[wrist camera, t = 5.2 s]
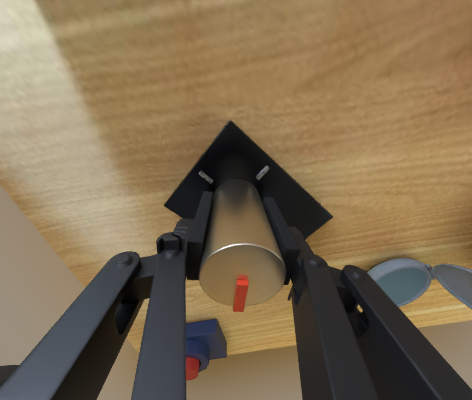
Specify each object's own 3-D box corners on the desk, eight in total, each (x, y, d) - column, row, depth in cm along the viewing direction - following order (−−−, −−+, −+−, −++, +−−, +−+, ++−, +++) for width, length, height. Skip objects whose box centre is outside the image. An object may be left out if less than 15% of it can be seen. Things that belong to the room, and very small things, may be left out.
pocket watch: (571, 365, 17) (413, 407, 21) (447, 274, 27) (354, 313, 31) (585, 318, 14) (390, 378, 17) (435, 233, 23) (331, 282, 27)
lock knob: (214, 176, 16) (198, 245, 7) (262, 180, 16) (299, 252, 8) (212, 218, 18) (196, 311, 9) (255, 221, 18) (278, 314, 10)
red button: (181, 367, 30) (178, 381, 28) (174, 357, 28) (170, 371, 26) (202, 364, 29) (200, 378, 28) (195, 353, 28) (193, 368, 26)
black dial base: (172, 193, 20) (162, 206, 17) (229, 119, 16) (229, 119, 14) (261, 253, 24) (265, 272, 21) (320, 203, 21) (334, 217, 18)
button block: (171, 351, 34) (164, 379, 30) (155, 328, 30) (145, 356, 27) (226, 343, 33) (226, 370, 30) (216, 318, 30) (215, 346, 26)
